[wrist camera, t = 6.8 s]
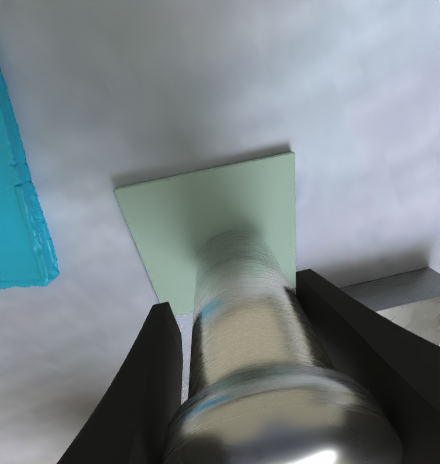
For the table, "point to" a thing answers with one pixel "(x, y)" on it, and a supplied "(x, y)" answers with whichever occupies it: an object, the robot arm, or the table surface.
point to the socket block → (405, 301)
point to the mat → (210, 219)
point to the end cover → (266, 374)
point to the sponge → (20, 212)
